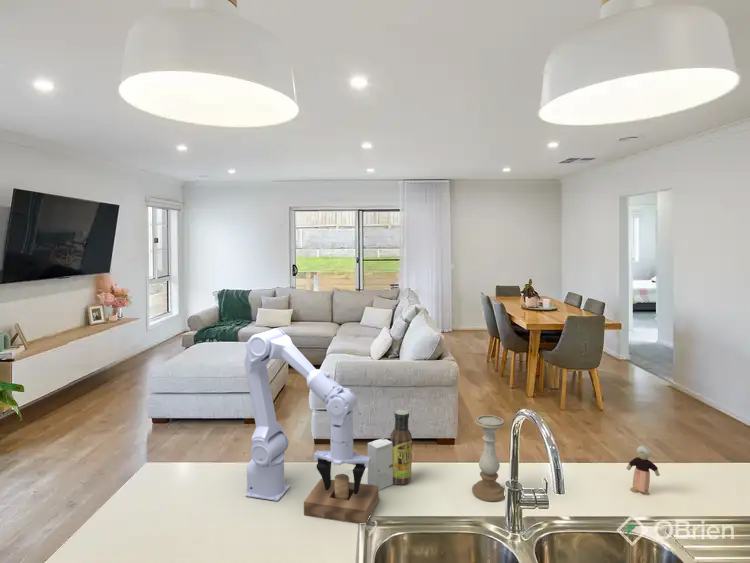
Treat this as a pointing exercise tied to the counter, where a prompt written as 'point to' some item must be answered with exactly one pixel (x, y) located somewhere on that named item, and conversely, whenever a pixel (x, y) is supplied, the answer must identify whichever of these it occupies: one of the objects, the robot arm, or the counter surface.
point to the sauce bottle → (401, 448)
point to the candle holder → (489, 461)
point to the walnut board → (341, 503)
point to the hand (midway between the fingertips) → (342, 490)
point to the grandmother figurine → (642, 470)
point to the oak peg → (342, 486)
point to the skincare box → (380, 463)
